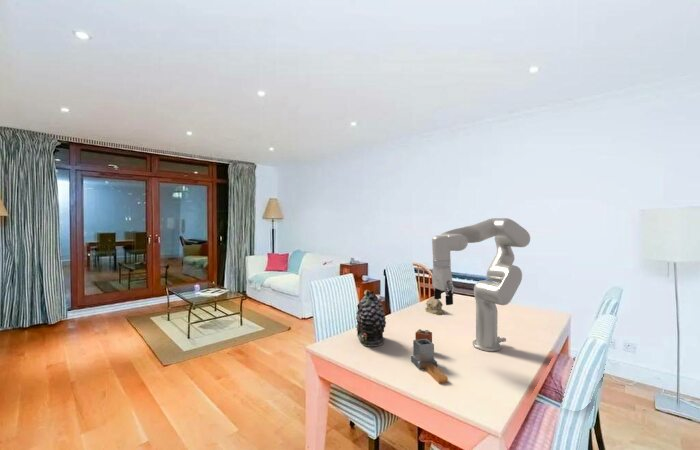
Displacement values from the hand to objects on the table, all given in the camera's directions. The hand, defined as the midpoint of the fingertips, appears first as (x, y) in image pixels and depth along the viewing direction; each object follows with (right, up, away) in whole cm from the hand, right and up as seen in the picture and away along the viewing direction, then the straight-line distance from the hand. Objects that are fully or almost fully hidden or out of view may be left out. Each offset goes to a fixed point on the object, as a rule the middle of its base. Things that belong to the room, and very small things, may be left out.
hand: (443, 301), depth 142 cm
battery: (-7, -25, +7) cm, 27 cm away
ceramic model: (+15, -24, +71) cm, 76 cm away
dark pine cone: (-31, -25, +21) cm, 45 cm away
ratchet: (-9, -25, -12) cm, 29 cm away
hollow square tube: (-10, -23, -6) cm, 26 cm away
